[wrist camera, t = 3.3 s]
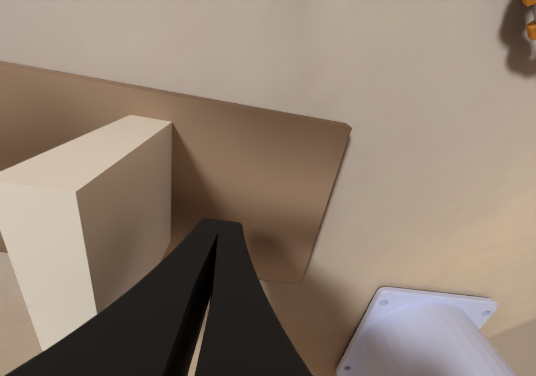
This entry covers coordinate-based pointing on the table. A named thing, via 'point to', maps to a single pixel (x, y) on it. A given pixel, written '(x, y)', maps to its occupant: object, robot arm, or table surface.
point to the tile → (87, 221)
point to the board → (194, 156)
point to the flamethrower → (534, 27)
